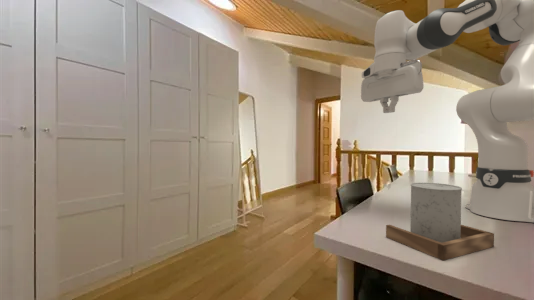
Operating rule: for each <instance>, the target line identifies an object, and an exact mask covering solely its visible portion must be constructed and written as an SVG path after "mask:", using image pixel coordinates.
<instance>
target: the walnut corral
mask: <svg viewBox="0 0 534 300" xmlns="http://www.w3.org/2000/svg"><path fill="white" fill-rule="evenodd" d="M385 237H386V238H388V239H390V240H392V241H395V242H397V243H399V244H402V245H405V246H407V247H409V248H412V249H415V250H417V251H419V252H422V253H424V254H426V255H429V256H431V257H434V258H437V259H439V260H441V261H445V260H449V259H453V258H457V257H461V256H465V255H468V254H471V253H477V252H479V251H483V250H486V249H487V250H488V249H491V248H494V247H495V233H494V232H490V231H486V230H482V229H479V228H474V227H471V226H469V225H463V224H461V233H460V239H456V240H452V241H447V242H443V243H441V242H438V241H435V240H432V239H429V238H426V237H424V236H421V235H418V234H415V233H412V232H410V231H409V230H406V229H404V228H401V227H397V226H395V225H392V224H386V225H385Z"/></svg>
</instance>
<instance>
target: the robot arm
mask: <svg viewBox="0 0 534 300" xmlns="http://www.w3.org/2000/svg"><path fill="white" fill-rule="evenodd" d="M487 28H488V33H489V36H490V39H491V40H492V41H493V42H495V43H496V44H497V45H501V46H509V45H513V44H516V43H517V42H518V44H517V46H516V47H515V48H514V50H513V52H512V53H511V54H510V56H509V58H508V59H507V60H506V62H505V63H504V64H503V66H502V68H501V70H500V78H501V80H502V82H503V83H504V84H502V85H499V86H494V87H493V86H492V87H487V88H484V89H483V88H482V89H478V90H475V91H474V90H473V91H472V92H469V93H467V94H464V95H462V96H461V97H460V98H459V99H458V101H457V103H456V110H455V111H456V114H457V116H458V118H459V119H460V120H461V121H462V122H463V123H465V124H467V125H468V126H469V128H470V129H471V130H472V132H473V134H474V136H475V139H476V143H477V151H478V152H477V154H478V158H477V159H478V163H477V164H478V166H477V167H476V169H475V174H476V175H475V178H476V179H477V180H476V181H475V182H474V183H472V184H471V188H470V189H471V190H470V199H469V204H465V208H466V209H468V210H469V211H470V212H471V213H473V214H476V215H479V216H484V217H486V218H487V217H488V218H491V219H492V218H493V219H497V220H498V219H499V220H505V221H513V222H514V221H515V222H525V223H526V222H527V223H534V186H533V185H532V183H531V182H532V178H533V177H534V170H532V169H529V168H528V166H529V165H528V163H529V162H528V160H529V145H528V143H527V142H526V140H525V139H524V138H523V137H520V136H518V135H516V134H514V133H512V132H511V131H510V129H509V127H508V123H514V122H527V121H528V122H529V121H534V0H464V1H463V2H461V3H460V4H459V5H458V6H457V7H455V8H454V7H453V8H452V7H450V8H448V7H447V8H445V7H442V8H436V9H434V10H433V11H431V12H430V13H429V14H428V15H427V16H425V17H424V18H422V19H421V20H419V21H418V22H417V23H415V22H413V21H412V20H410V19H409V18H408V17H407V16H406V14H405V12H404V10H401V9H395V10H392V11H389V12H387V13H385V14H383V15H382V16H381V17H379V18H378V20H377V21H376V24H375V28H374V29H375V30H374V41H373V43H374V44H373V45H374V49H375V54H374V56H373V62H372V63H371V64H370V65H369V66H368V67H367V68H365V69H364V70H363V71H362V73H361V78H362V79H363V80H361V81H362V82H361V86H360V94H361V95H360V97H361V100H362V101H363V102H365V103H372V102H378V101H379V103H380V105H381V107H382V113H383V114H390V113H395V112H396V106H397V104H398V102H399V101H400V98H399V97H403V96H408V95H414V94H415V95H416V94H419V93H421V92H422V91H423V90H424V87H425V86H424V75H423V72H422V69H423V63H422V62H421V61H420V59H419V58H422V57H424V56H426V55H428V54H430V53H432V52H435V51H437V50H439V49H442V48H446V47H449V46H450V45H452V44H453V43H455V41H457V40H458V38H459V37H461V34H462V33H467V34H470V33H475V32H478V31H481V30H484V29H487ZM389 101H390V103H389V104H388V102H389Z"/></svg>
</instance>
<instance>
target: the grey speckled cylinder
mask: <svg viewBox="0 0 534 300" xmlns="http://www.w3.org/2000/svg"><path fill="white" fill-rule="evenodd" d="M462 190H463V188H462V187H461V186H458V185H454V184H449V183H448V184H447V183H439V182H437V183H435V182H412V183H410V227H409V228H410V231H409V232H412V233H415V234H418V235H421V236H424V237H426V238H429V239H432V240H435V241H438V242H441V243H443V242H447V241H452V240H456V239H460V233H461V225H462V224H461V223H462V222H461V221H462V219H461V218H462Z"/></svg>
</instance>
